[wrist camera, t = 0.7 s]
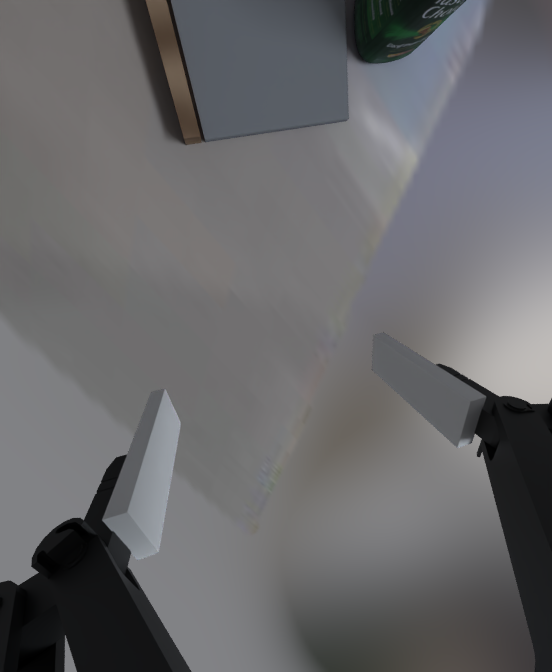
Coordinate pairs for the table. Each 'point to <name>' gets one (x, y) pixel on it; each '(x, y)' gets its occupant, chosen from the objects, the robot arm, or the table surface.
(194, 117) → the walnut stop strip
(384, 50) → the coffee jar
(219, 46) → the rubber mat
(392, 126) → the table surface
